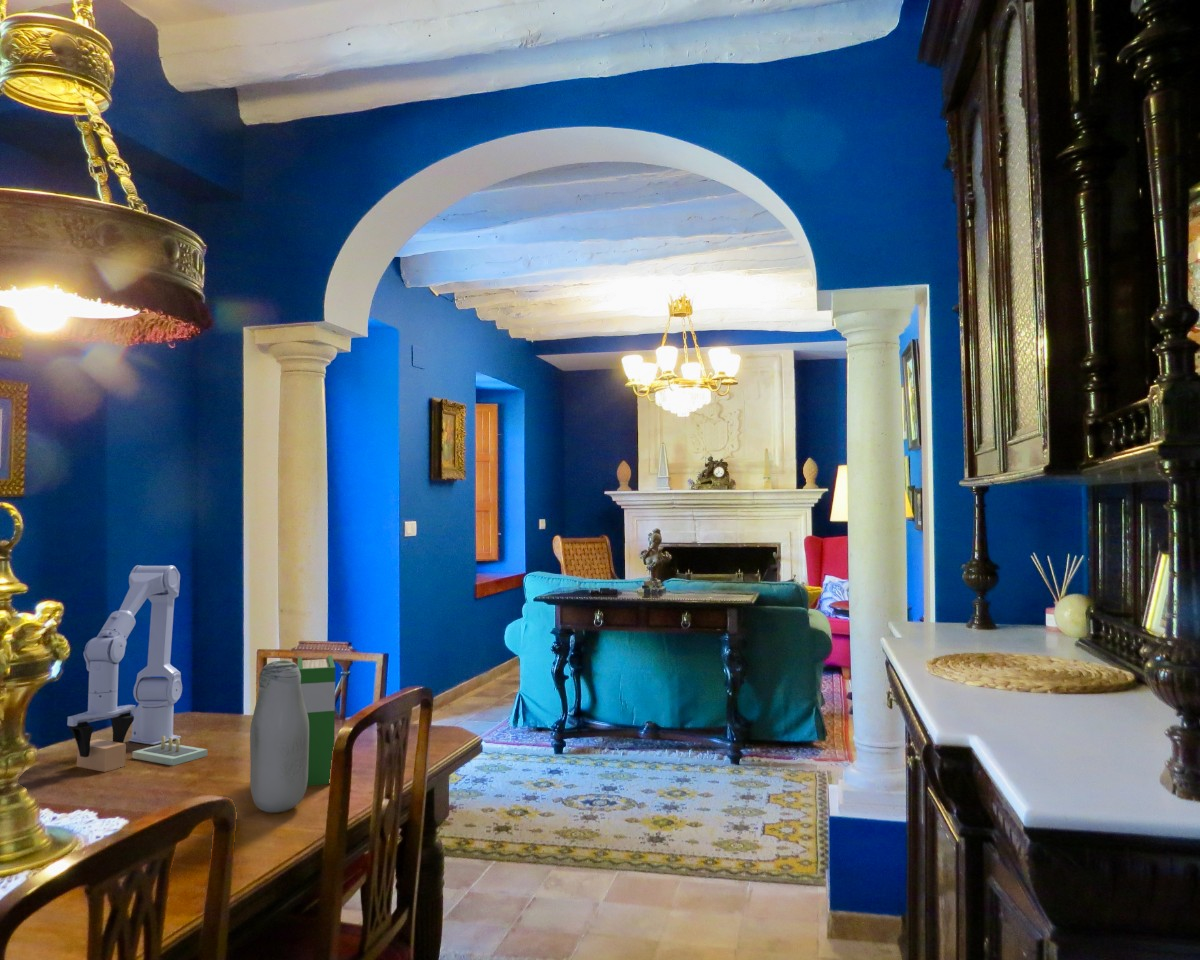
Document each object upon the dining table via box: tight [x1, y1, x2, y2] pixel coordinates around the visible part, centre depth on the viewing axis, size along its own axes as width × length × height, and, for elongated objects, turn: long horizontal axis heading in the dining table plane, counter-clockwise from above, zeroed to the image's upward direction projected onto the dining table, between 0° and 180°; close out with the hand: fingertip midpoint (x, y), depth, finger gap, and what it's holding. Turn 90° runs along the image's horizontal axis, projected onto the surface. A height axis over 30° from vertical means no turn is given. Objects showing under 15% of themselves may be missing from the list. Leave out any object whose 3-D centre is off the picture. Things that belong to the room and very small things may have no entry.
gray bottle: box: [249, 660, 309, 814], centre depth 162 cm, size 10×10×28 cm
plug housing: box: [76, 738, 127, 773], centre depth 191 cm, size 10×5×5 cm, turn 64°
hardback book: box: [297, 655, 336, 787], centre depth 186 cm, size 18×7×24 cm, turn 20°
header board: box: [131, 736, 208, 766], centre depth 199 cm, size 14×9×4 cm, turn 64°
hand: (101, 752), depth 191 cm, fingers open, 7 cm apart
